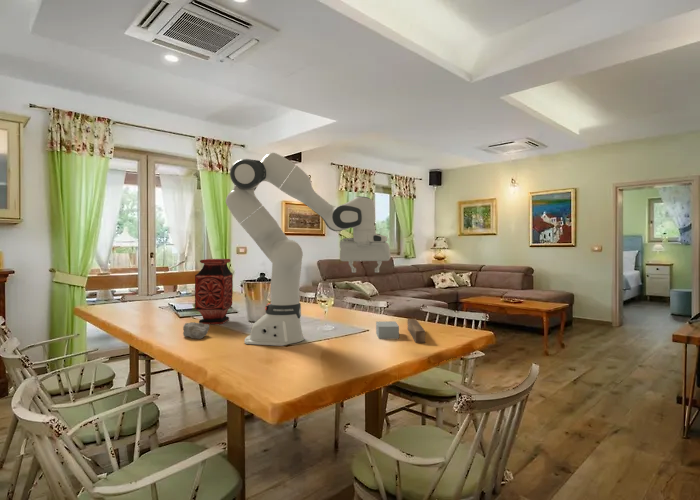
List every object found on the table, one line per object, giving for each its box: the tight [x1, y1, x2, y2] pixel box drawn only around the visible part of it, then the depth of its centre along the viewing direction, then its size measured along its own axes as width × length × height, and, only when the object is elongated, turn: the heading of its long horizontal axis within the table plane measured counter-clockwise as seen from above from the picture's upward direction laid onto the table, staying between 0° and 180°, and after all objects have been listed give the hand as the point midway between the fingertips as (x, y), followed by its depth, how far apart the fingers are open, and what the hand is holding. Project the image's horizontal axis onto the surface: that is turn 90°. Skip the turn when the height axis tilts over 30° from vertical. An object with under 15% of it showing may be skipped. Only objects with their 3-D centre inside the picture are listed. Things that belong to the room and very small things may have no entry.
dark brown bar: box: [407, 318, 426, 344], centre depth 162 cm, size 4×24×4 cm, turn 179°
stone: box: [182, 321, 210, 340], centre depth 162 cm, size 10×8×6 cm
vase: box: [194, 258, 234, 325], centre depth 191 cm, size 14×14×30 cm
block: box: [375, 320, 400, 340], centre depth 162 cm, size 8×10×5 cm
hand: (365, 272), depth 160 cm, fingers open, 8 cm apart
